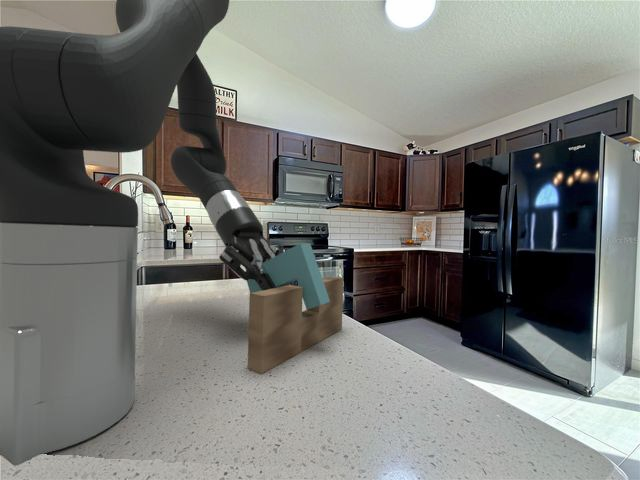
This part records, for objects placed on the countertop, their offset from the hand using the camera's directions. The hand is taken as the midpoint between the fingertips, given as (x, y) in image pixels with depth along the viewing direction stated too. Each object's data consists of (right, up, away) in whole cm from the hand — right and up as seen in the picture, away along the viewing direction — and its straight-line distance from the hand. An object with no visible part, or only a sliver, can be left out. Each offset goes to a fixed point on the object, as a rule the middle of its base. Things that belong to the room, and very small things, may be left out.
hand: (280, 294), depth 45 cm
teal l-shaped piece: (+2, -3, -1) cm, 4 cm away
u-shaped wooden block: (+4, -7, -3) cm, 9 cm away
